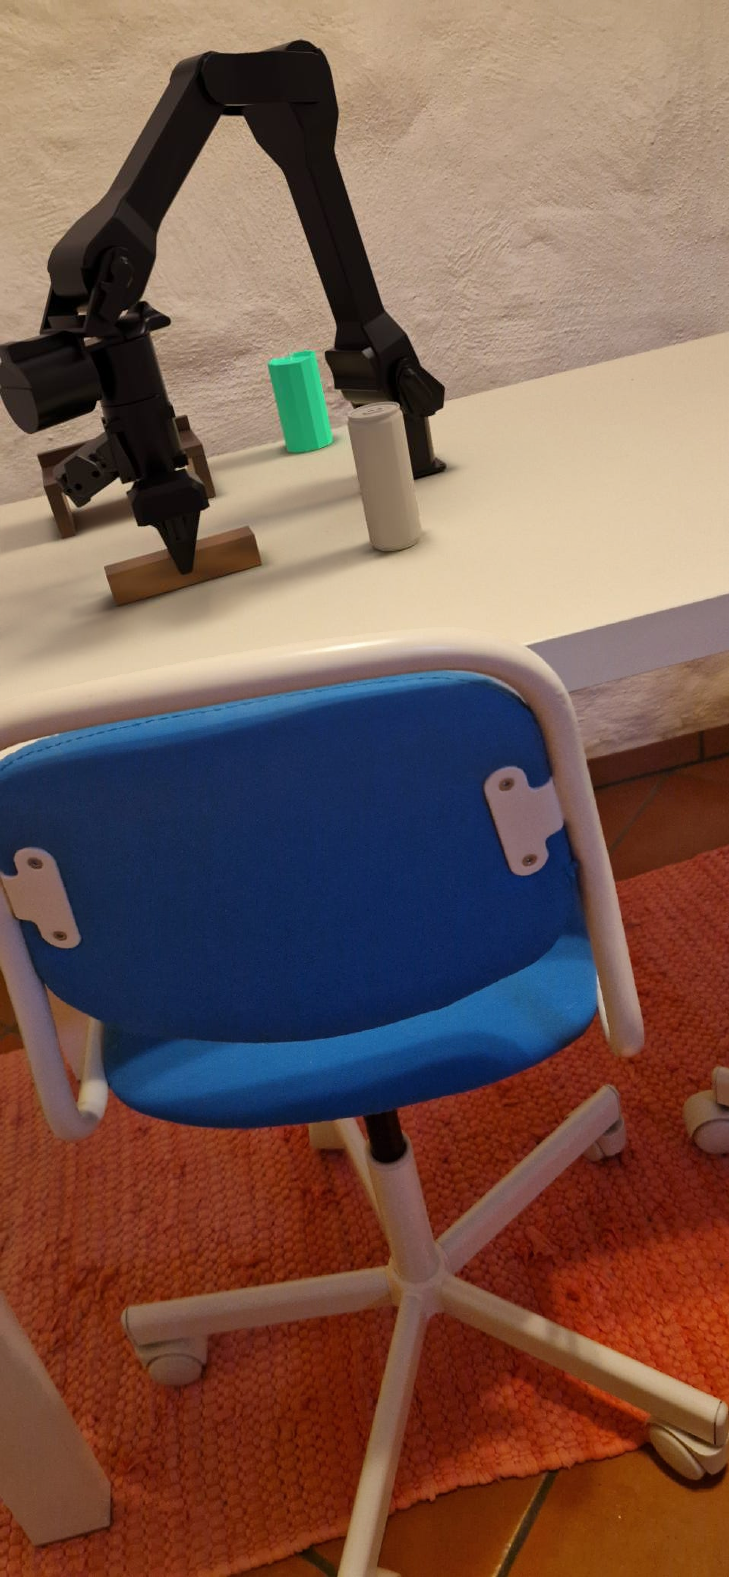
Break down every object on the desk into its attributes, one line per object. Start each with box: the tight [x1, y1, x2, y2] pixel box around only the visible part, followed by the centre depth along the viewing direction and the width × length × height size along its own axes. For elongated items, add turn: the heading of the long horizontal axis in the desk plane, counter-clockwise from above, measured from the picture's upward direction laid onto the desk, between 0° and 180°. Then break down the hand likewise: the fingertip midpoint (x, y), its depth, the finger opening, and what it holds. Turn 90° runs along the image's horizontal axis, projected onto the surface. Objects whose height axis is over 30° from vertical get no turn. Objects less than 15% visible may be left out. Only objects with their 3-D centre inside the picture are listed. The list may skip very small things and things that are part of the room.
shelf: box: [36, 413, 217, 539], centre depth 122 cm, size 10×18×8 cm, turn 106°
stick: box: [103, 525, 263, 607], centre depth 99 cm, size 14×3×3 cm, turn 106°
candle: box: [267, 343, 334, 454], centre depth 129 cm, size 6×6×12 cm
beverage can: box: [346, 402, 423, 552], centre depth 94 cm, size 5×5×12 cm
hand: (184, 568), depth 99 cm, fingers closed on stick, 3 cm apart
